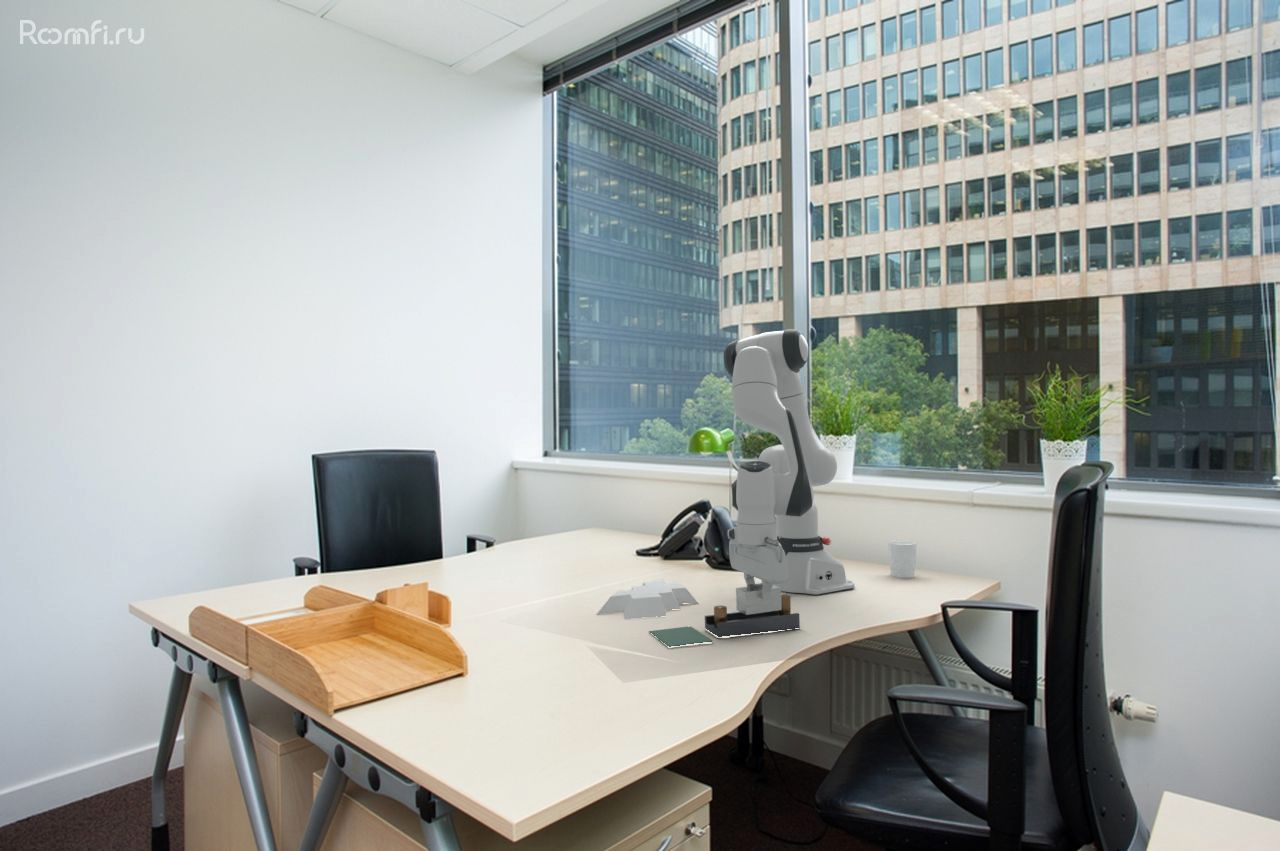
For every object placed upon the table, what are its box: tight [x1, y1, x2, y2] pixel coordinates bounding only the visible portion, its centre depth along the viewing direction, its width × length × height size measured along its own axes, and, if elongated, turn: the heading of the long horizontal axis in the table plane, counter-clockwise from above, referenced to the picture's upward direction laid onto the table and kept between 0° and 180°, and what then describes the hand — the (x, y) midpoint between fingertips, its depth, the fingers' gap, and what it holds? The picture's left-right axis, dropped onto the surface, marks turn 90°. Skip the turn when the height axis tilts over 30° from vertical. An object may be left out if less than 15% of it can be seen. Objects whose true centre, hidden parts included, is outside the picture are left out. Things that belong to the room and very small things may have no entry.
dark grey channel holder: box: [704, 594, 801, 637], centre depth 173 cm, size 20×7×7 cm, turn 110°
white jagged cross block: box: [595, 578, 699, 620], centre depth 194 cm, size 35×20×6 cm, turn 145°
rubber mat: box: [648, 626, 714, 647], centre depth 167 cm, size 10×12×1 cm
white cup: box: [887, 539, 917, 579], centre depth 227 cm, size 8×8×10 cm
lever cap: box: [735, 582, 782, 615], centre depth 173 cm, size 9×4×6 cm, turn 111°
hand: (758, 596), depth 173 cm, fingers closed on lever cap, 4 cm apart
